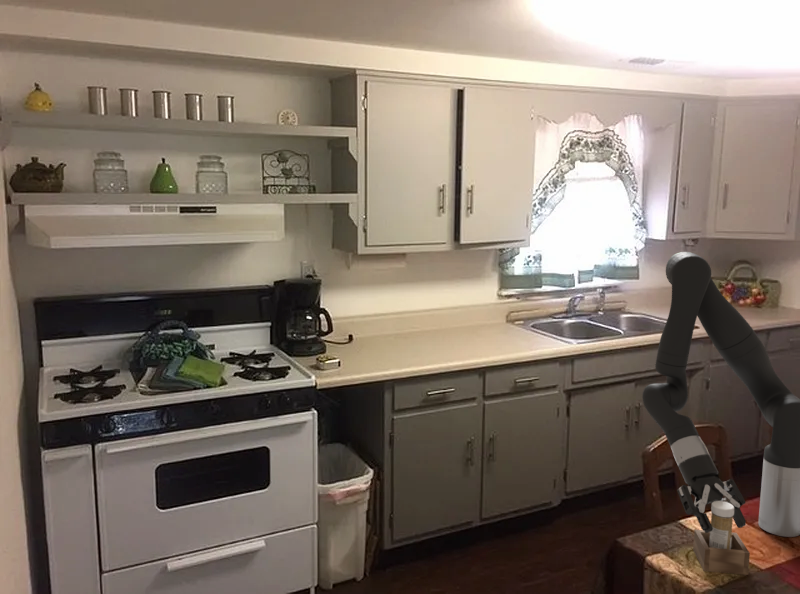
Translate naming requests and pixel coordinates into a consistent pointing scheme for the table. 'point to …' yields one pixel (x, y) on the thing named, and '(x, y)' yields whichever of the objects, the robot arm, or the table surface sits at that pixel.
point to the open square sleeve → (721, 555)
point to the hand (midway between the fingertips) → (725, 529)
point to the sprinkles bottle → (721, 525)
